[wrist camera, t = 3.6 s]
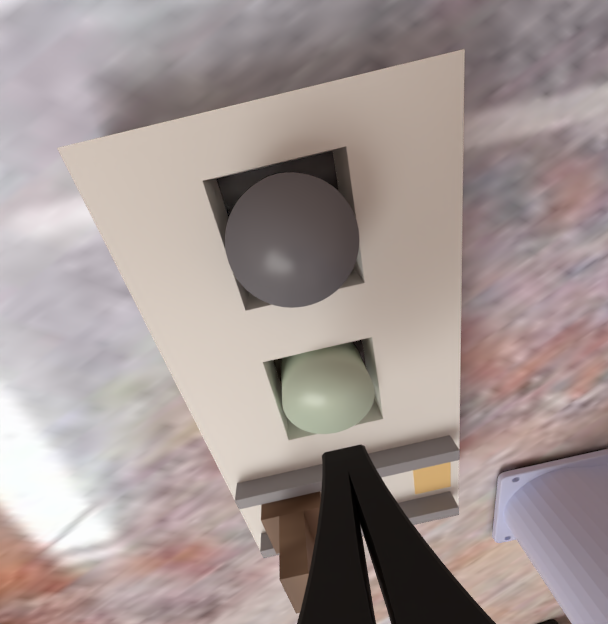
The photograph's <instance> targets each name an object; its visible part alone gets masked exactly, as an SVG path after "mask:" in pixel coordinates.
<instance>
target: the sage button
mask: <svg viewBox="0 0 608 624" xmlns="http://www.w3.org/2000/svg"><path fill="white" fill-rule="evenodd" d="M281 379H282V406H283V410H284V412H285V415H286V416H287V418H288V419H289V420H290V421H291V422H292V423H293V424H294V425H295V426H297V427H298V428H300V429H302V430H304V431H307V432H311V433H316V434H331V433H337V432H341V431H344V430H346V429H348V428H350V427H352V426H354V425H356V424H357V423H358V422H360V421H361V420H362V419H363V418H364V417H365V416H366V415H367V413H368V412H369V411H370V409H371V407H372V405H373V402H374V397H375V389H374V385H373V382H372V380H371V378H370V375H369V373H368V371H367V369H366V367H365V365H364V362H363V360H362V358H361V356H360V354H359V352H358V349H357V348H356V346H355V345H354V344H353V343H352V342H348V343H344V344H340V345H335V346H331V347H327V348H322V349H318V350H314V351H309V352H305V353H301V354H296V355H292V356H288V357H283V359H282V364H281Z"/></svg>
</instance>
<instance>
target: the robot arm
mask: <svg viewBox="0 0 608 624" xmlns="http://www.w3.org/2000/svg"><path fill="white" fill-rule="evenodd" d="M360 525H361V526H360ZM361 528H362V531H363V534H364V538H365V541H366V544H367V547H368V550H369V553H370V557H371V560H372V563H373V566H374V569H375V572H376V576H377V579H378V582H379V585H380V588H381V591H382V594H383V598H384V601H385V604H386V607H387V610H388V614H389V617H390V621H391V624H496V623H495V622H494V621H493V620H492V619H491V618H490V617H489V616H488V615H487V614H486V613H485V612H484V610H483V609H482V608H481V607H480V606H479V605H478V604H477V603H476V601H475V600H474V599H473V598H472V597H471V596H470V595H469V593H468V592H467V591H466V590H465V589H464V588H463V586H462V585H461V584H460V583H459V582H458V581H457V579H456V578H455V577H454V576H453V575H452V573H451V572H450V571H449V570H448V569H447V568H446V566H445V565H444V564H443V563H442V561H441V560H440V559H439V558H438V556H437V555H436V554H435V553H434V551H433V550H432V549H431V548H430V546H429V545H428V544H427V543H426V541H425V540H424V539H423V537H422V536H421V535H420V533H419V532H418V531H417V529H416V528H415V527H414V525H413V524H412V523H411V521H410V520H409V519H408V517H407V516H406V514H405V513H404V511H403V510H402V509H401V507H400V506H399V504H398V503H397V501H396V500H395V498H394V497H393V495H392V494H391V492H390V491H389V489H388V488H387V486H386V485H385V483H384V481H383V480H382V478H381V476H380V475H379V473H378V471H377V470H376V468H375V466H374V464H373V462H372V461H371V459H370V457H369V455H368V453H367V450H366V448H365V446H363V445H361V444H360V445H356V446H351V447H347V448H342V449H338V450H333V451H329V452H325V453H324V454H323V455H322V489H321V501H320V509H319V517H318V525H317V532H316V537H315V543H314V549H313V555H312V560H311V566H310V571H309V575H308V580H307V585H306V589H305V594H304V598H303V602H302V606H301V611H300V615H299V619H298V622H297V624H376V621H375V616H374V610H373V603H372V597H371V590H370V584H369V578H368V571H367V565H366V558H365V552H364V545H363V539H362V533H361ZM492 537H493V539H494V541H495V542H497V543H502V542H507V541H511V540H516V539H517V541H518V542H519V544H520V545H521V547H522V549H523V550H524V552H525V553H526V555H527V556H528V558H529V559H530V561H531V562H532V564H533V565H534V567H535V568H536V570H537V571H538V573H539V575H540V576H541V578H542V579H543V581H544V582H545V584H546V585H547V587H548V588H549V590H550V591H551V593H552V594H553V596H554V597H555V599H556V600H557V602H558V604H559V605H560V607H561V608H562V610H563V611H564V613H565V614H566V616H567V617H568V619H569V620H570V622H571V623H572V624H608V449H604V450H600V451H595V452H591V453H586V454H582V455H577V456H573V457H568V458H564V459H559V460H555V461H550V462H546V463H542V464H537V465H533V466H528V467H524V468H519V469H515V470H510V471H506V472H503V473H501V474H500V475H499V476H498V482H497V492H496V502H495V513H494V523H493V533H492Z"/></svg>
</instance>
